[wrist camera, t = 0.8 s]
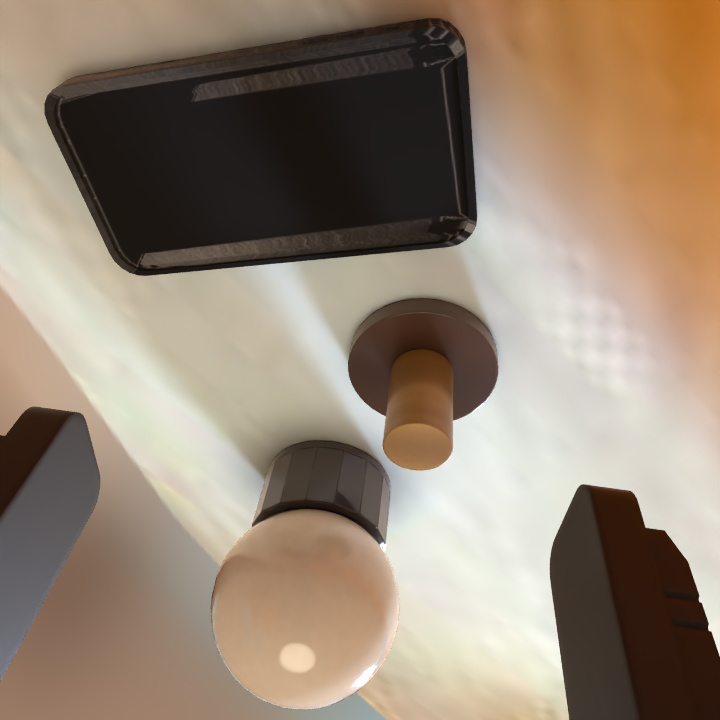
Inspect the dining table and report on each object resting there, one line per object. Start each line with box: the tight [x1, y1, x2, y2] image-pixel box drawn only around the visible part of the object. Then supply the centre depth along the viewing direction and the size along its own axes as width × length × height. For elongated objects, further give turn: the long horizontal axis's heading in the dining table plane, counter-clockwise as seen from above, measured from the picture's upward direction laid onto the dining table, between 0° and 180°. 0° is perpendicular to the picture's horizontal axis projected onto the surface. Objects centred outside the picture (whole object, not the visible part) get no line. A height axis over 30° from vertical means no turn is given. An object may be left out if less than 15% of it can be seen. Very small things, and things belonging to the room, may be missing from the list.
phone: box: [45, 19, 477, 276], centre depth 24 cm, size 8×1×15 cm
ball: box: [211, 508, 400, 710], centre depth 31 cm, size 9×9×9 cm
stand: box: [252, 441, 390, 550], centre depth 35 cm, size 7×7×4 cm
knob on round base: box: [348, 299, 498, 470], centre depth 28 cm, size 7×7×6 cm
